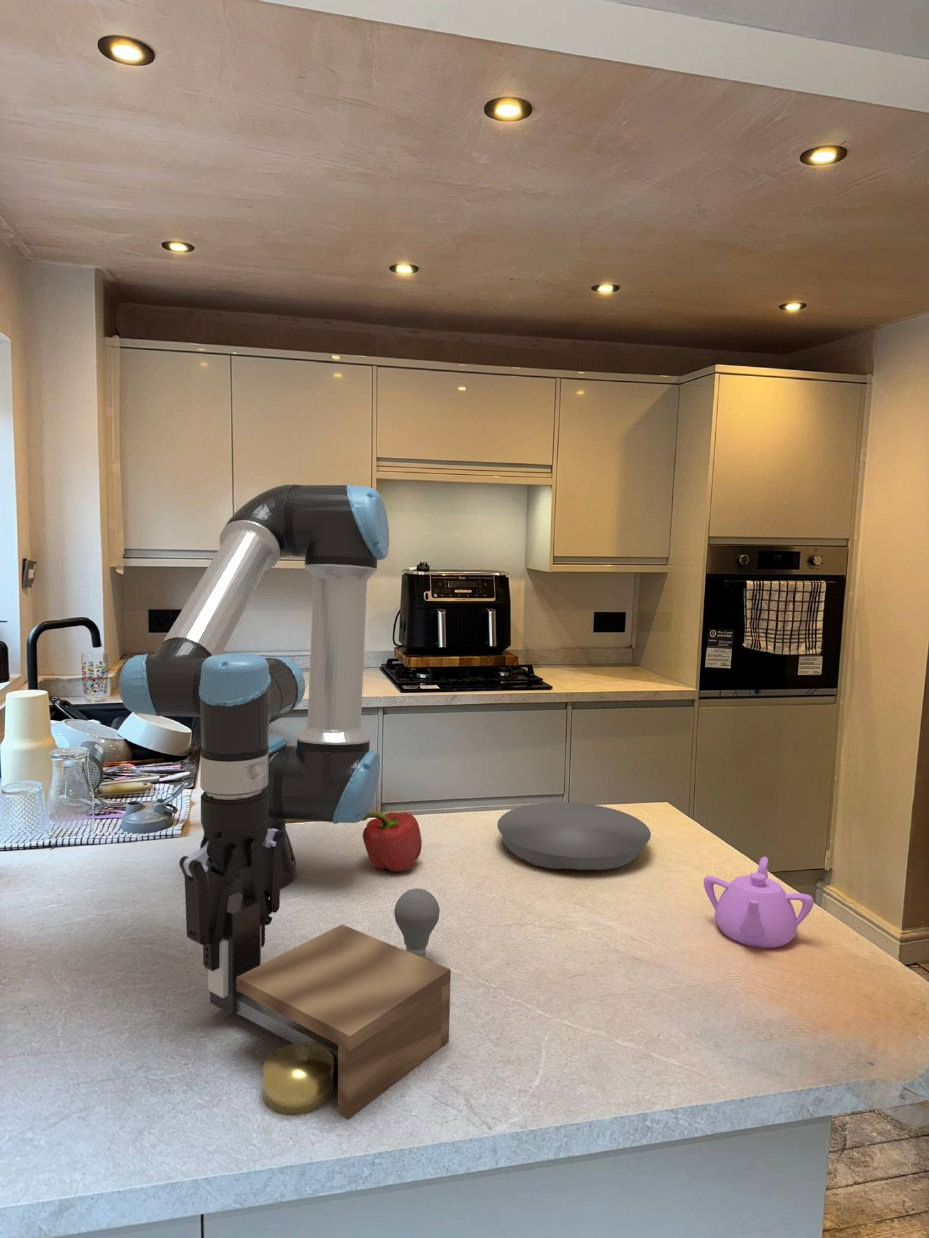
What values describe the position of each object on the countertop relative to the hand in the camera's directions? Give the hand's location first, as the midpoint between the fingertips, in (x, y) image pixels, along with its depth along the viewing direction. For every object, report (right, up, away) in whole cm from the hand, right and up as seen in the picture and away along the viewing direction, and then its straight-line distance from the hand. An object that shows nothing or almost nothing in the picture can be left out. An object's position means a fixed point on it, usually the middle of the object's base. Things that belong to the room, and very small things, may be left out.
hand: (234, 983), depth 97 cm
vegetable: (+14, 0, +45) cm, 47 cm away
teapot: (+70, -4, +24) cm, 74 cm away
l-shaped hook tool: (+7, -3, -5) cm, 9 cm away
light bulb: (+20, -3, +13) cm, 25 cm away
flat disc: (+47, 0, +56) cm, 73 cm away
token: (+10, -5, -13) cm, 17 cm away
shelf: (+14, -5, -5) cm, 15 cm away
